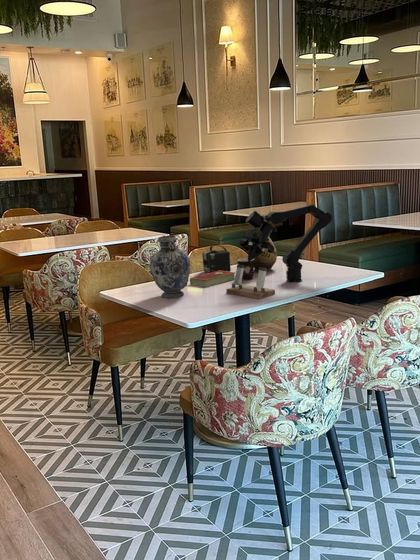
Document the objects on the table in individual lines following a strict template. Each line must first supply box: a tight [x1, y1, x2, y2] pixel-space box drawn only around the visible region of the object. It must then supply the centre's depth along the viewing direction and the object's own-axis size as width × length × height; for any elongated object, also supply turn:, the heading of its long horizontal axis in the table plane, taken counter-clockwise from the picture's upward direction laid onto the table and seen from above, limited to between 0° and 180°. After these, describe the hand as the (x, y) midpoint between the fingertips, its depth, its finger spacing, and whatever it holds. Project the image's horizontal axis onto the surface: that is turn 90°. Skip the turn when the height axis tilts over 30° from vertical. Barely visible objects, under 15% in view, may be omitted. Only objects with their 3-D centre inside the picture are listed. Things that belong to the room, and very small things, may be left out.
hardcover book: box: [189, 271, 236, 288], centre depth 273 cm, size 12×21×4 cm, turn 133°
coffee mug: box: [236, 257, 262, 281], centre depth 273 cm, size 12×9×10 cm
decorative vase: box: [149, 234, 191, 299], centre depth 247 cm, size 21×19×28 cm
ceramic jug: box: [254, 214, 278, 272], centre depth 292 cm, size 17×15×30 cm
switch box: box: [226, 282, 276, 300], centre depth 242 cm, size 11×20×4 cm, turn 42°
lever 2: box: [255, 267, 268, 289], centre depth 236 cm, size 2×3×9 cm, turn 41°
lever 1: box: [233, 263, 245, 286], centre depth 246 cm, size 2×3×9 cm, turn 42°
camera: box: [202, 244, 232, 274], centre depth 299 cm, size 11×14×15 cm
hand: (248, 260), depth 250 cm, fingers closed
